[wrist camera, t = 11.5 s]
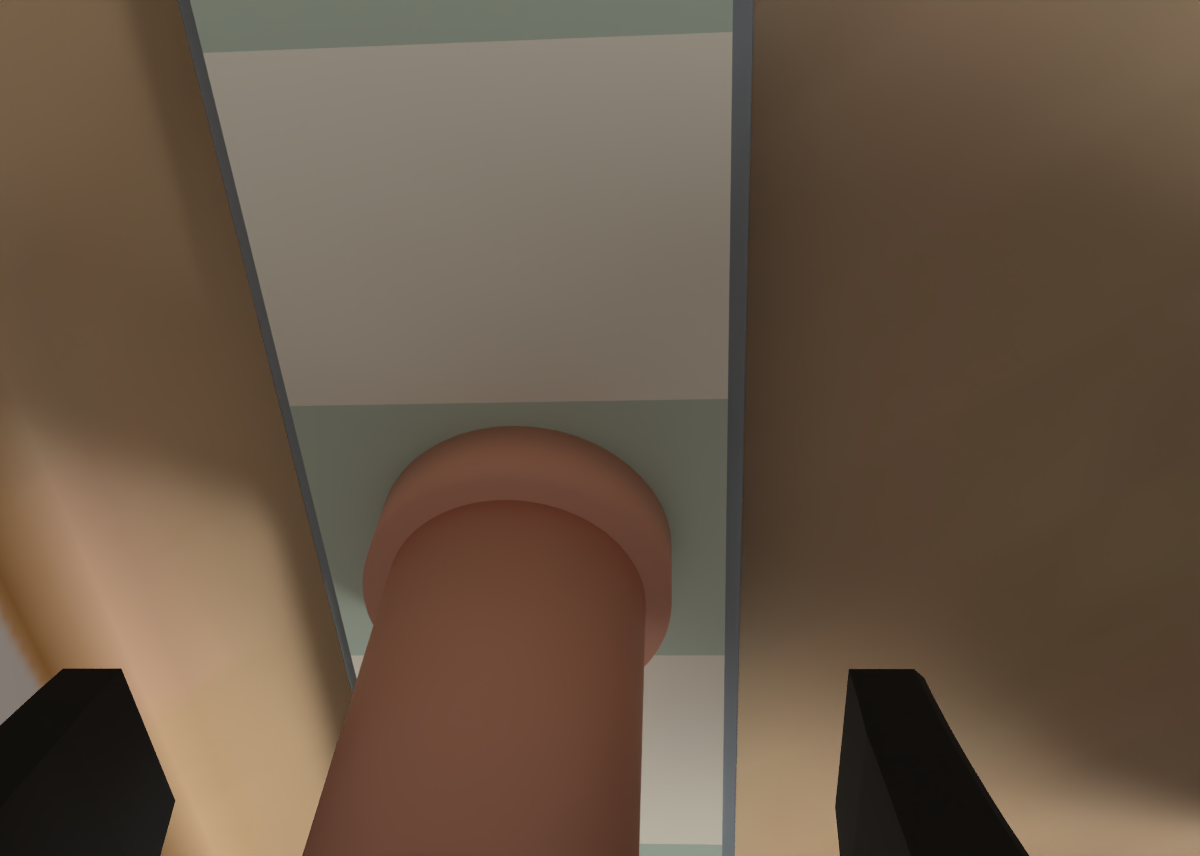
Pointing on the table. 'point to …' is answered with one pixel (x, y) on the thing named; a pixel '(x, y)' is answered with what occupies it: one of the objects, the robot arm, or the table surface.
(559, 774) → the pawn
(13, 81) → the table surface
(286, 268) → the board
